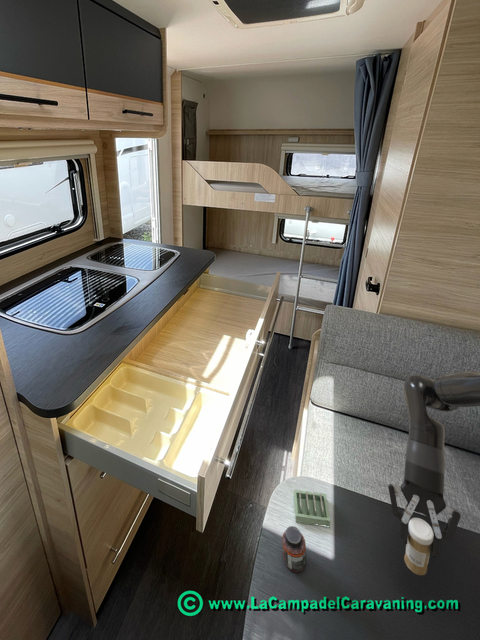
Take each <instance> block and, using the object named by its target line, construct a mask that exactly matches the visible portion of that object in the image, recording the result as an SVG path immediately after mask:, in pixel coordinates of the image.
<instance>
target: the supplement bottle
mask: <svg viewBox="0 0 480 640" xmlns="http://www.w3.org/2000/svg"><path fill="white" fill-rule="evenodd" d="M281 540H282V541H281V543H282V558H283V562H284V564H285V566H286V568H287V569H289V571H291V572H293V573H301V572H302V571H304V569H305V568H306V564H307V550H306V548H307V546H306V539H305V537H304V535H303V534H302V533H301V530H300V529H299V528H298V527H296V526H294V525H291V526H290V525H289V526H288V527H287V528H286V530H284V532H283V533H282V536H281Z"/></svg>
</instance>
